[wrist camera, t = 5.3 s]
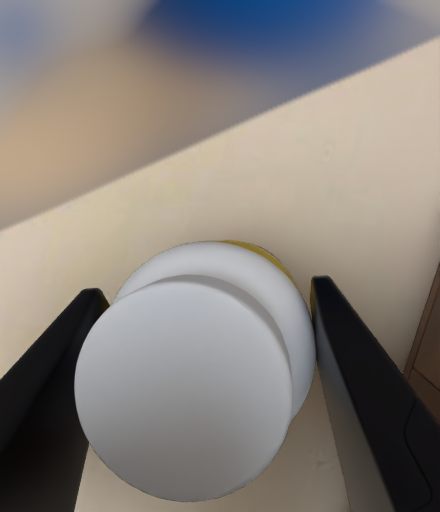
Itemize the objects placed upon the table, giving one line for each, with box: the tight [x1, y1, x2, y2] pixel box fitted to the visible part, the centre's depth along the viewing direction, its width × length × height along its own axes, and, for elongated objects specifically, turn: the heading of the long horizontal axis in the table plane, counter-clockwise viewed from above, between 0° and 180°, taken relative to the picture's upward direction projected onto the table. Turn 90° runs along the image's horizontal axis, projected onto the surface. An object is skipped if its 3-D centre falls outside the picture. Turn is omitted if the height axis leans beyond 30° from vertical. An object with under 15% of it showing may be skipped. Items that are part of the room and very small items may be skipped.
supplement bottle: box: [74, 241, 316, 502], centre depth 12 cm, size 5×5×10 cm
